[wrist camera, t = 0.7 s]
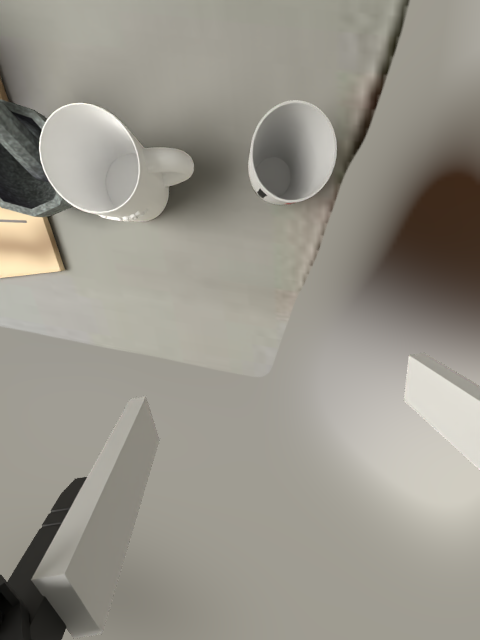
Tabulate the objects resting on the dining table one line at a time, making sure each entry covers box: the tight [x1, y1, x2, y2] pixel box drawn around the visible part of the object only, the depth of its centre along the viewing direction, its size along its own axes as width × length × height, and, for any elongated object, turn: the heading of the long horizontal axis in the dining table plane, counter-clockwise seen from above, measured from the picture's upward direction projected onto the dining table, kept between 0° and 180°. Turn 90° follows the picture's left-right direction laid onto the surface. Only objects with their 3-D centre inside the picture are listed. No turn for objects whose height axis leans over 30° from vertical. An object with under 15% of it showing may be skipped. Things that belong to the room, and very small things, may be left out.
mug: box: [39, 103, 194, 222], centre depth 26 cm, size 8×12×12 cm
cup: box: [248, 100, 337, 205], centre depth 28 cm, size 8×8×10 cm
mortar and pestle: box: [0, 99, 73, 217], centre depth 25 cm, size 11×9×12 cm
